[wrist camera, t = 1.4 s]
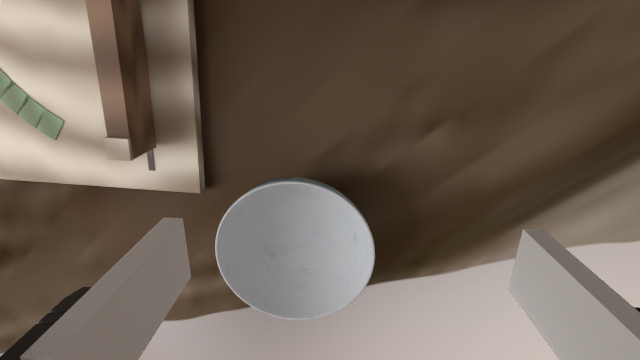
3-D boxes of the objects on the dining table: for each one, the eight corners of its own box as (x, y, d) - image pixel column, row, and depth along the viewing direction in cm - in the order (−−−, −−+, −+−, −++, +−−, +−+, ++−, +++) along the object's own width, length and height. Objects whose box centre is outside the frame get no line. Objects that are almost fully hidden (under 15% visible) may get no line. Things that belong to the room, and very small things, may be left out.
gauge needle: (90, -85, 28) (34, -115, 23) (147, -82, 28) (105, -111, 23) (123, 144, 35) (86, 161, 30) (170, 148, 35) (140, 165, 30)
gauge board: (-125, -125, 30) (-149, -135, 28) (186, -108, 29) (178, -117, 28) (-31, 171, 39) (-46, 175, 38) (205, 188, 39) (199, 193, 37)
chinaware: (211, 192, 39) (183, 224, 32) (330, 132, 36) (328, 152, 29) (278, 291, 43) (267, 339, 36) (389, 244, 40) (400, 287, 33)
